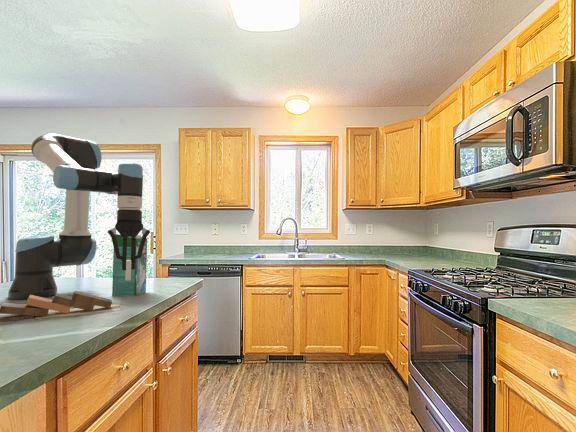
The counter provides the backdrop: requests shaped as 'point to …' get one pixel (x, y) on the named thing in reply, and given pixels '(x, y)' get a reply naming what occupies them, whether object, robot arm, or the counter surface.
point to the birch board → (80, 311)
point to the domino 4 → (92, 299)
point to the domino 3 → (71, 302)
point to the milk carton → (137, 275)
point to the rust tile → (46, 304)
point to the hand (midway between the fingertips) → (128, 279)
